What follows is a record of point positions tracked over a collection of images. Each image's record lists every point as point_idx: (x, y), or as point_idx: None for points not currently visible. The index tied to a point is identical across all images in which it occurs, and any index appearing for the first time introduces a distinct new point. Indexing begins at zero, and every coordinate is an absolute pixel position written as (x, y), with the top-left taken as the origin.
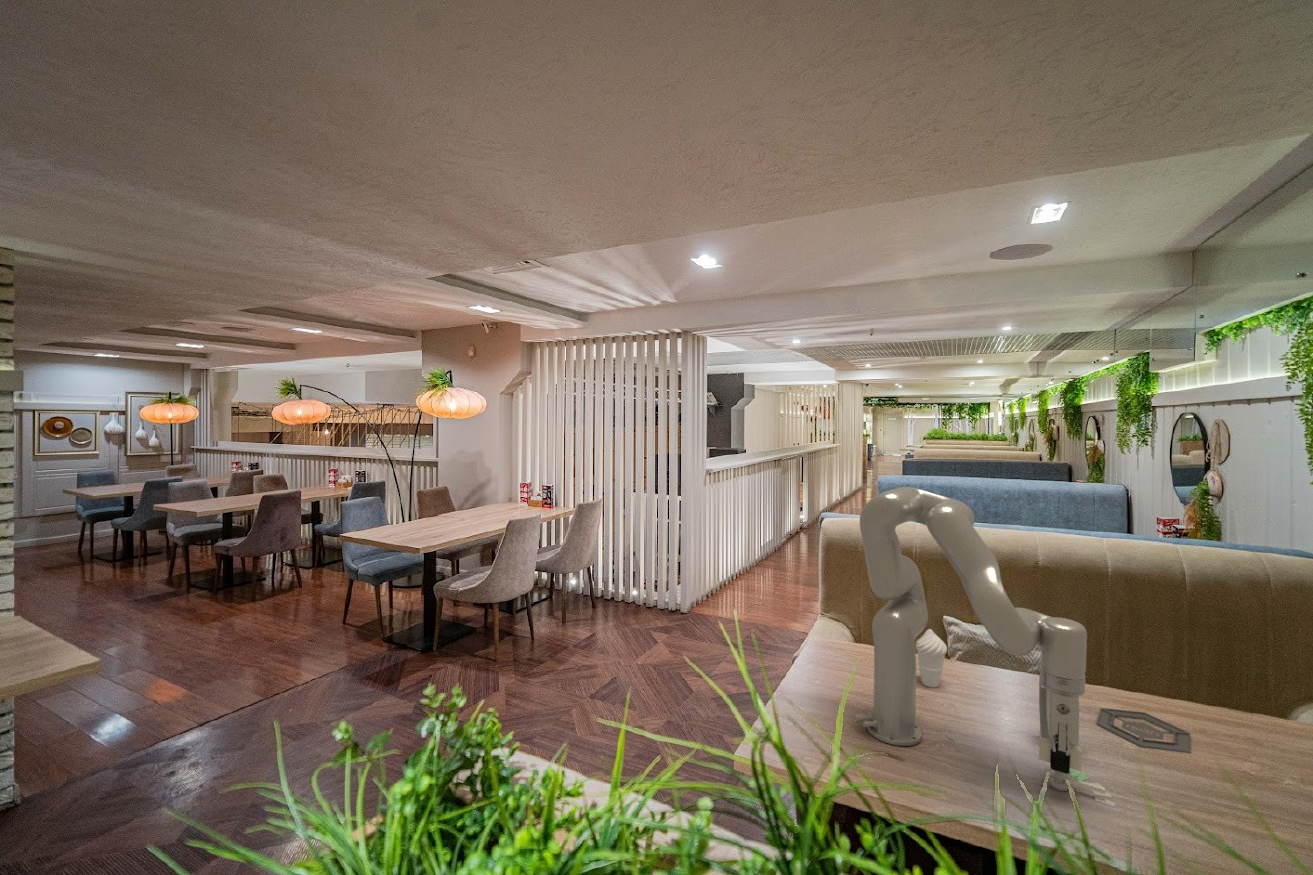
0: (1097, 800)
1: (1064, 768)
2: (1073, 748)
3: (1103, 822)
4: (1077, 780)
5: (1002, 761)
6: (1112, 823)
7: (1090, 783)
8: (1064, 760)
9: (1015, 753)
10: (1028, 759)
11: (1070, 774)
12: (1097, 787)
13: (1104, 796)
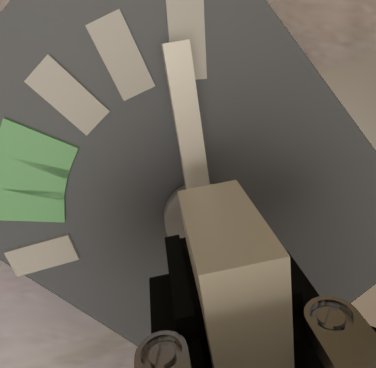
0: (203, 70)
1: (288, 252)
2: (271, 312)
3: (299, 38)
4: (191, 168)
5: (121, 363)
6: (284, 4)
7: (62, 111)
8: (309, 286)
9: (22, 353)
10: (26, 316)
11: (53, 191)
12: (190, 78)
13: (136, 44)
